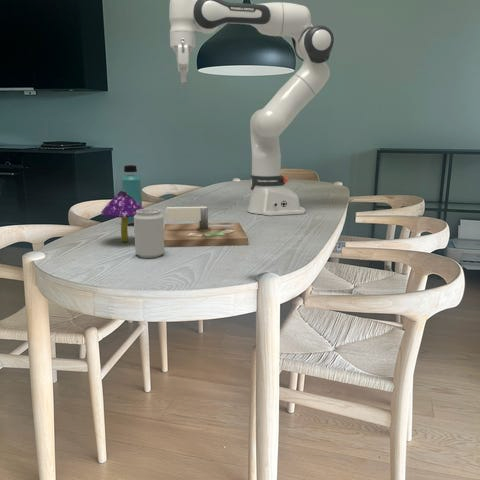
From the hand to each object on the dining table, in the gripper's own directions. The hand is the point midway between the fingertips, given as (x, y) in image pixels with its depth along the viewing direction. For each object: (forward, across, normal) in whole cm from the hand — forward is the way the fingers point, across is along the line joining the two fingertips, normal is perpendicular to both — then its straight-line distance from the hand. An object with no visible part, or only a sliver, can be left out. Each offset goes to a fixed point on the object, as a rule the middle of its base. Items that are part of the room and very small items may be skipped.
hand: (183, 83), depth 173 cm
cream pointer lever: (+45, -39, -4) cm, 60 cm away
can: (+48, -59, +10) cm, 76 cm away
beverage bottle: (+48, -19, +18) cm, 54 cm away
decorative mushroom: (+48, -44, +18) cm, 67 cm away
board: (+47, -39, -5) cm, 62 cm away
